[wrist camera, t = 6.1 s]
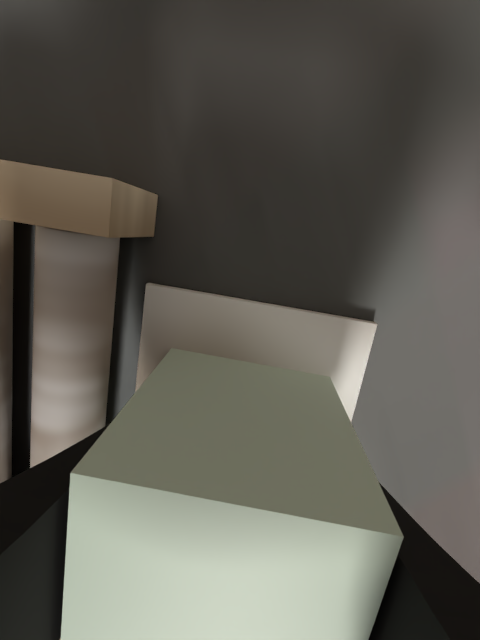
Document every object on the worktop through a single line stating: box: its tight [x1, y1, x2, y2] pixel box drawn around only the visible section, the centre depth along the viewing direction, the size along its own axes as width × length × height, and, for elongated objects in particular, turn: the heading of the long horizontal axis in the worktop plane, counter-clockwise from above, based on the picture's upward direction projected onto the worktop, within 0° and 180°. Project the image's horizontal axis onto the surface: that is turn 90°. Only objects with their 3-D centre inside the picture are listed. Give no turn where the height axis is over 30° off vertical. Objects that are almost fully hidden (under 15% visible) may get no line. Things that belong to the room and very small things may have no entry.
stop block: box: [61, 348, 404, 640], centre depth 9 cm, size 6×5×6 cm
